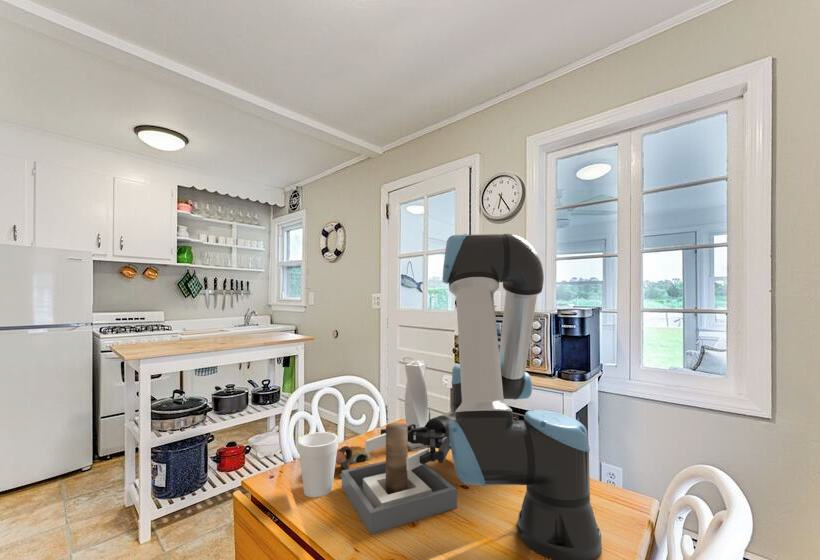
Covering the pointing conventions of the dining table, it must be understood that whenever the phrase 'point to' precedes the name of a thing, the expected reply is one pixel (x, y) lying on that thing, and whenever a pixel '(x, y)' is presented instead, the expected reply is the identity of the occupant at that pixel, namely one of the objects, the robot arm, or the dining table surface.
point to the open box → (402, 510)
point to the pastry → (359, 455)
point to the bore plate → (378, 496)
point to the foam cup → (318, 462)
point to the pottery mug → (344, 458)
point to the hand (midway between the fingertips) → (385, 455)
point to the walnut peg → (396, 457)
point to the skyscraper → (416, 398)
